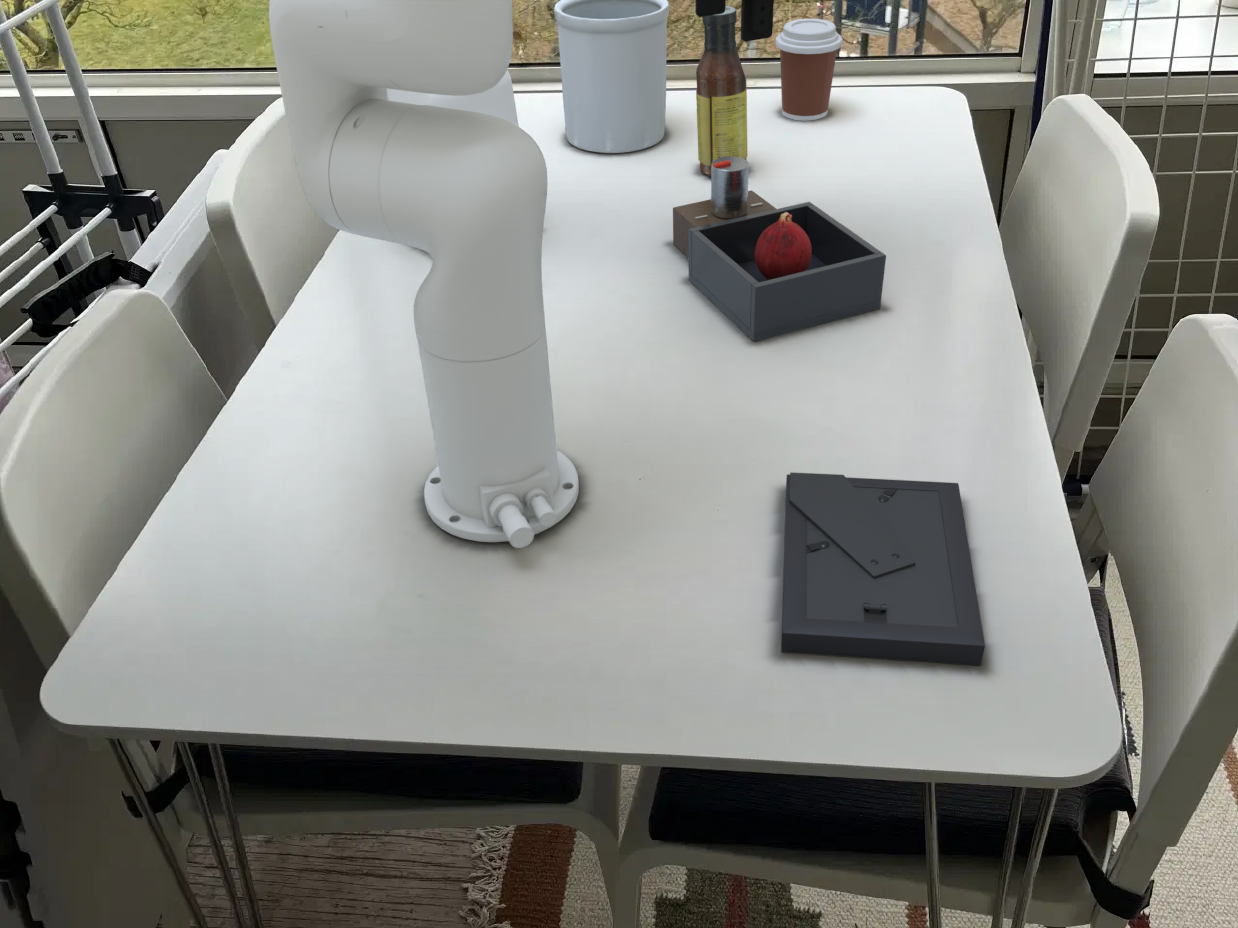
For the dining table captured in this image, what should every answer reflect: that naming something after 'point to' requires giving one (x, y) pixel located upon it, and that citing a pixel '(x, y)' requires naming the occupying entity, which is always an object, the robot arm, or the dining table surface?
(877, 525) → the picture frame
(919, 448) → the dining table surface
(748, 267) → the dark grey open box
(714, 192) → the metal rotary knob
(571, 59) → the utensil holder
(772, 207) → the block
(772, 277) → the red round fruit
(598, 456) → the dining table surface
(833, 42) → the coffee cup
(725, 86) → the sauce bottle
